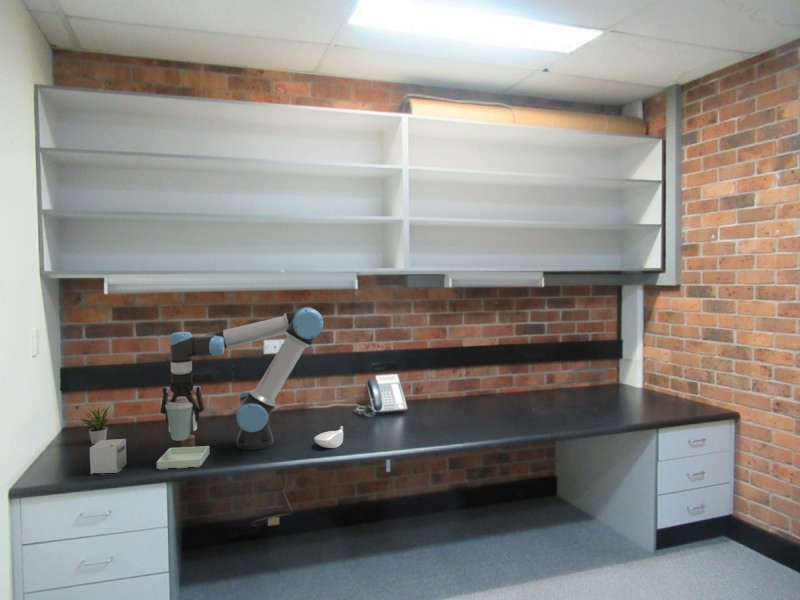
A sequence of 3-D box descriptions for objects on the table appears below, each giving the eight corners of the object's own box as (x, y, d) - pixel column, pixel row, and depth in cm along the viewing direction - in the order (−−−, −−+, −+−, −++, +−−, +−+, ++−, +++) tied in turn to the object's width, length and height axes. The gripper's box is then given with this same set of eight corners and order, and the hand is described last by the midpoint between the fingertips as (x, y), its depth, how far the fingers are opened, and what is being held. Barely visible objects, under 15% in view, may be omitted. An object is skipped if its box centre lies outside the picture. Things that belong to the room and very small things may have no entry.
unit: (127, 464, 198) (126, 437, 197) (117, 473, 189) (116, 445, 188) (100, 466, 197) (99, 439, 196) (89, 475, 188) (88, 446, 187)
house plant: (98, 436, 233) (96, 400, 233) (125, 437, 231) (124, 401, 230) (72, 446, 219) (71, 408, 219) (101, 448, 217) (99, 410, 216)
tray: (209, 453, 210) (209, 445, 209) (200, 467, 194) (199, 459, 194) (169, 455, 208) (169, 448, 208) (156, 469, 192) (156, 461, 192)
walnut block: (194, 446, 219) (194, 434, 219) (195, 449, 214) (194, 438, 214) (181, 447, 217) (181, 436, 217) (181, 451, 212) (181, 439, 212)
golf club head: (350, 425, 219) (325, 418, 213) (345, 451, 214) (319, 444, 209) (338, 427, 227) (314, 420, 221) (333, 452, 222) (308, 446, 217)
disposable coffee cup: (188, 432, 208) (187, 395, 207) (200, 438, 201) (199, 399, 200) (161, 438, 200) (160, 400, 200) (173, 444, 193) (172, 404, 192)
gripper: (212, 369, 204) (213, 426, 205) (156, 371, 202) (157, 428, 203) (207, 373, 197) (209, 432, 198) (149, 374, 194) (151, 434, 195)
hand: (183, 430), depth 200 cm, fingers open, 8 cm apart
